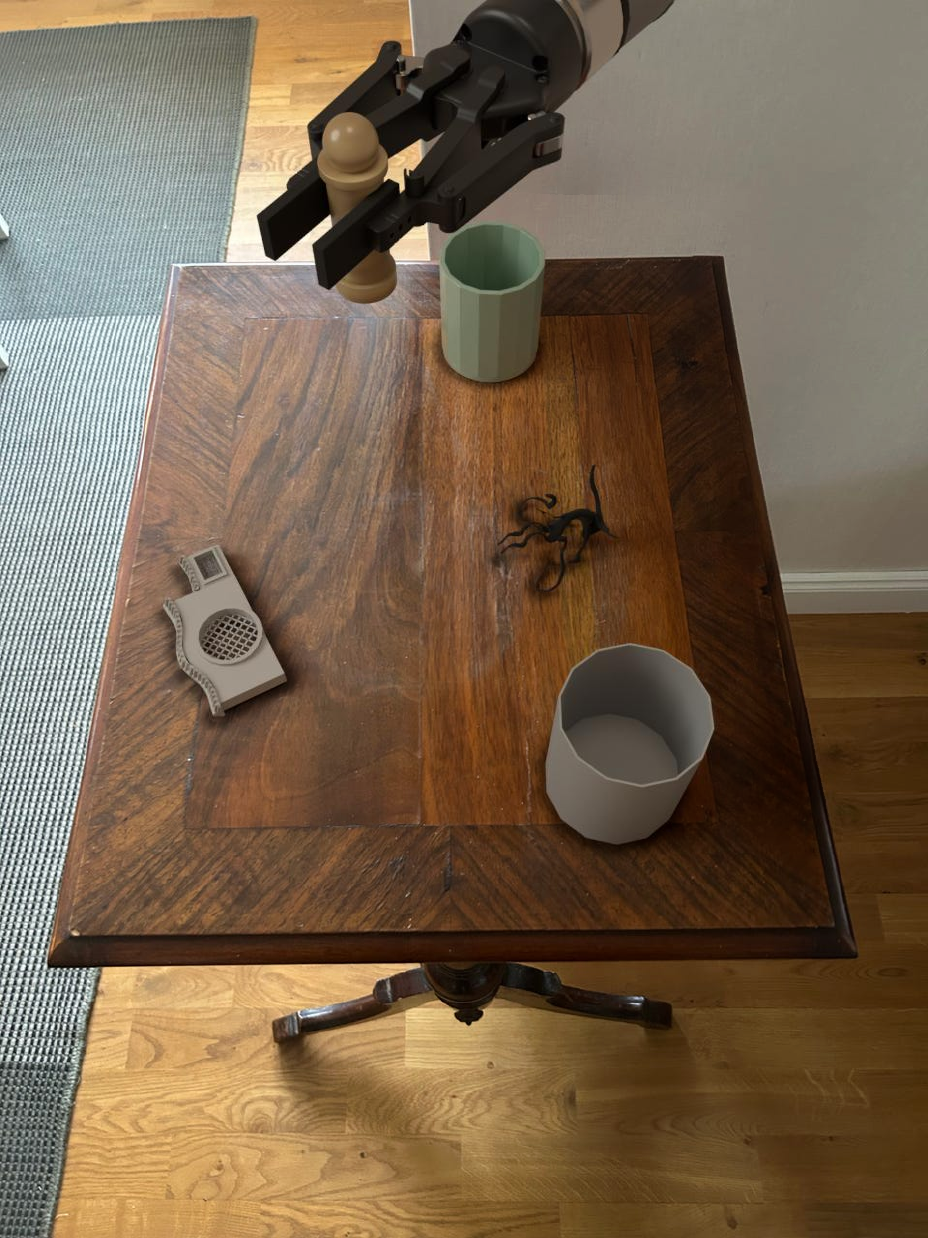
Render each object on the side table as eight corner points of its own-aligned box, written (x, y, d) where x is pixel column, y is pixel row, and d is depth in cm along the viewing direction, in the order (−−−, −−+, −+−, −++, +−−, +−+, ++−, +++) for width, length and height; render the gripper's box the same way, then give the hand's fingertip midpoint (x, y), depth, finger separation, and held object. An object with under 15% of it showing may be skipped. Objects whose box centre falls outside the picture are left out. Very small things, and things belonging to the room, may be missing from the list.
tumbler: (538, 314, 83) (545, 222, 75) (536, 384, 79) (544, 295, 71) (445, 310, 83) (443, 219, 75) (439, 380, 79) (436, 292, 71)
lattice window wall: (223, 551, 71) (143, 585, 70) (217, 536, 70) (135, 571, 68) (291, 685, 66) (207, 725, 65) (287, 673, 65) (200, 714, 63)
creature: (514, 608, 70) (626, 578, 69) (500, 571, 66) (620, 538, 65) (493, 517, 74) (599, 487, 73) (478, 475, 69) (591, 443, 68)
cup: (687, 732, 64) (722, 661, 56) (671, 857, 61) (705, 801, 52) (557, 705, 65) (571, 631, 57) (532, 825, 61) (543, 766, 53)
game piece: (409, 275, 62) (398, 110, 53) (373, 312, 61) (355, 150, 51) (359, 252, 63) (340, 86, 54) (322, 288, 62) (296, 124, 52)
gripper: (638, 145, 65) (416, 368, 55) (434, 56, 69) (198, 248, 60) (657, 28, 58) (409, 258, 49) (431, -62, 63) (165, 133, 54)
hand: (293, 252), depth 54 cm, fingers closed on game piece, 3 cm apart
